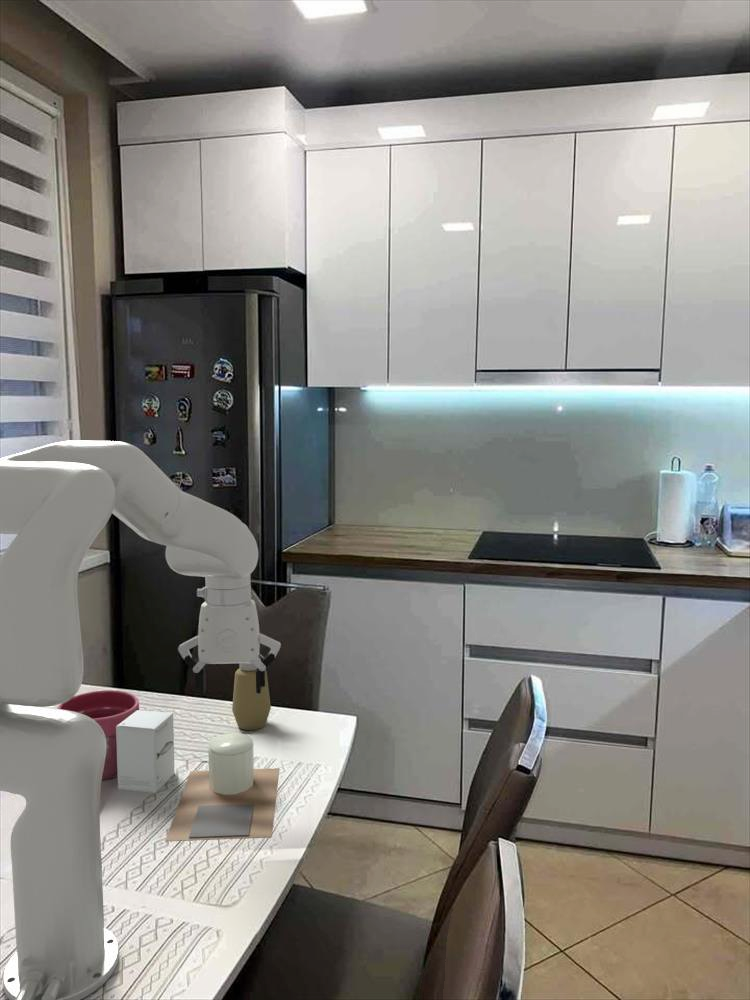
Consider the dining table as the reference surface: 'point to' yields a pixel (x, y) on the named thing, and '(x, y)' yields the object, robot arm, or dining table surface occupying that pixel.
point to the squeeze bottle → (250, 699)
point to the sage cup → (231, 763)
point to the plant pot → (105, 718)
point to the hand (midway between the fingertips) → (231, 691)
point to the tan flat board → (225, 809)
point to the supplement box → (145, 751)
